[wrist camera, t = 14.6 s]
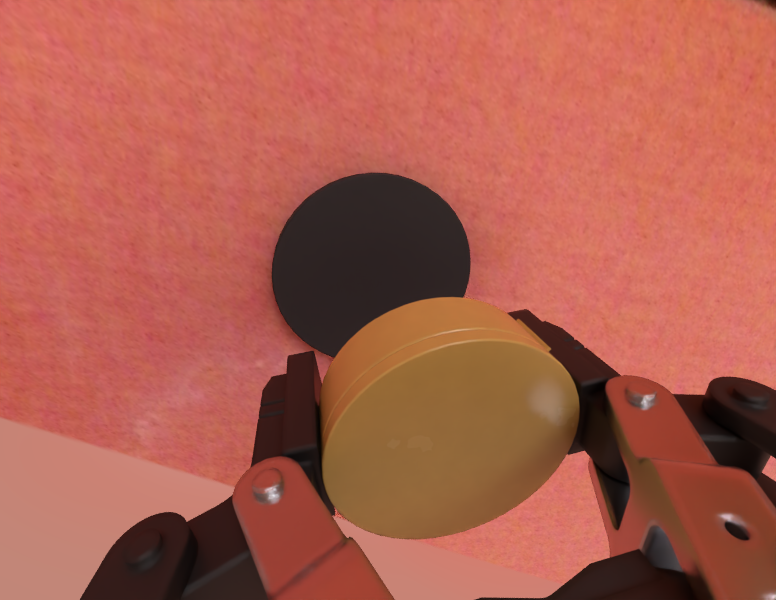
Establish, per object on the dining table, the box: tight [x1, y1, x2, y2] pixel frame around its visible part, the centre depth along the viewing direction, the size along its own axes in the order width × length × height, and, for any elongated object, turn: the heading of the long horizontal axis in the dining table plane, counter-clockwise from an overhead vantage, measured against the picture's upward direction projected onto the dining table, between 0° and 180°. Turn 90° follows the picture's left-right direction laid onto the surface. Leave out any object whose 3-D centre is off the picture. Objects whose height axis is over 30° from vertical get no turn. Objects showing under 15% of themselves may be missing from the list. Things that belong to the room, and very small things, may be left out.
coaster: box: [272, 173, 470, 357], centre depth 17 cm, size 9×9×1 cm
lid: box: [319, 297, 580, 539], centre depth 9 cm, size 6×6×2 cm
